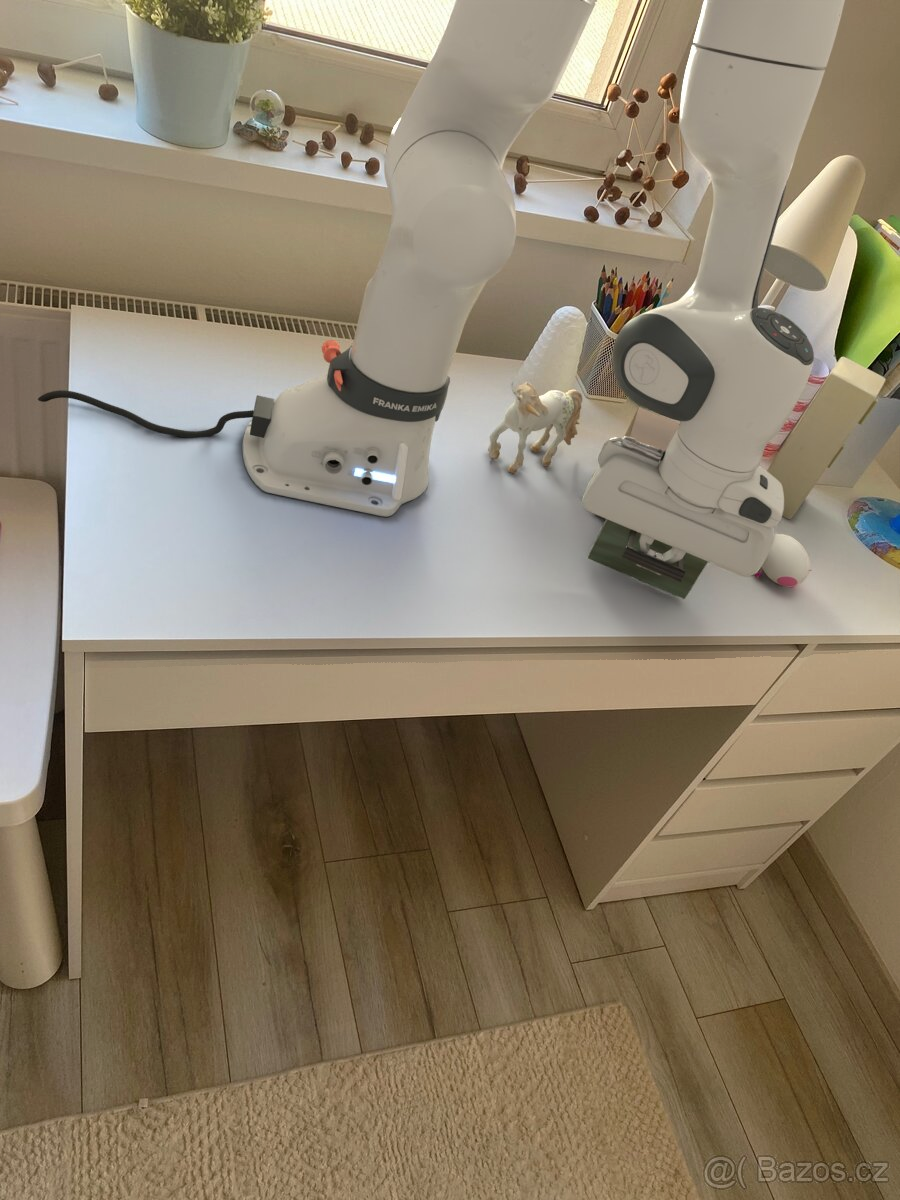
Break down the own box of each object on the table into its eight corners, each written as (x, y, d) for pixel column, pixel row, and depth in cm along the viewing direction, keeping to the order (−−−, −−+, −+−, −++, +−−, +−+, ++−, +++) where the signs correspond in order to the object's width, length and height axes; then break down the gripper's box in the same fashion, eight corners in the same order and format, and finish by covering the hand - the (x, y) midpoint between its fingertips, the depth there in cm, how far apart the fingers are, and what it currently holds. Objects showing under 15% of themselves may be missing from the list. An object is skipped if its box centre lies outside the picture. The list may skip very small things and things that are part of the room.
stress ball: (785, 613, 118) (830, 584, 116) (764, 589, 112) (811, 558, 110) (756, 571, 123) (800, 542, 121) (735, 547, 117) (780, 516, 115)
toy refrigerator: (795, 524, 129) (881, 398, 115) (749, 497, 131) (829, 371, 117) (807, 502, 135) (891, 380, 121) (763, 477, 136) (841, 354, 123)
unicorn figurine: (456, 476, 114) (488, 385, 105) (528, 426, 127) (562, 342, 119) (503, 506, 112) (539, 415, 103) (570, 452, 126) (608, 368, 117)
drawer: (679, 629, 103) (711, 580, 97) (578, 586, 103) (605, 535, 98) (693, 542, 116) (721, 495, 111) (603, 504, 117) (628, 455, 112)
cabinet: (693, 556, 116) (728, 498, 109) (594, 515, 116) (624, 454, 110) (701, 502, 126) (734, 446, 120) (610, 464, 126) (638, 406, 120)
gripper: (606, 443, 91) (557, 546, 100) (797, 523, 90) (730, 619, 99) (615, 416, 95) (568, 516, 104) (796, 491, 95) (733, 586, 104)
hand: (648, 567), depth 102 cm, fingers closed, pressing on drawer
